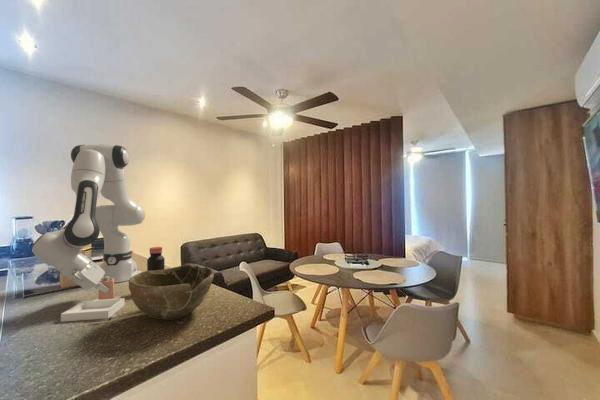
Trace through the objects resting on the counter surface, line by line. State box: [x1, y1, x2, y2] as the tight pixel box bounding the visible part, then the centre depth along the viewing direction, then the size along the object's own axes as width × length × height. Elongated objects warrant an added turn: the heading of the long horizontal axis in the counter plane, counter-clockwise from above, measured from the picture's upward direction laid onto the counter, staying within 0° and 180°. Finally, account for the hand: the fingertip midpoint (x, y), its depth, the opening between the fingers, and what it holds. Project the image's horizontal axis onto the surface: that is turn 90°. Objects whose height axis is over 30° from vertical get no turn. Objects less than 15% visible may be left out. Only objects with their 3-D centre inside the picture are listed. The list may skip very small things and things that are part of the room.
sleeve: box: [97, 278, 115, 300], centre depth 107 cm, size 5×5×8 cm
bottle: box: [146, 246, 166, 271], centre depth 119 cm, size 7×7×20 cm
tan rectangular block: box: [59, 249, 86, 289], centre depth 131 cm, size 13×9×22 cm
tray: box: [60, 297, 126, 324], centre depth 95 cm, size 12×14×4 cm
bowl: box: [128, 264, 215, 321], centre depth 95 cm, size 28×27×15 cm
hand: (108, 288), depth 107 cm, fingers closed on sleeve, 5 cm apart
